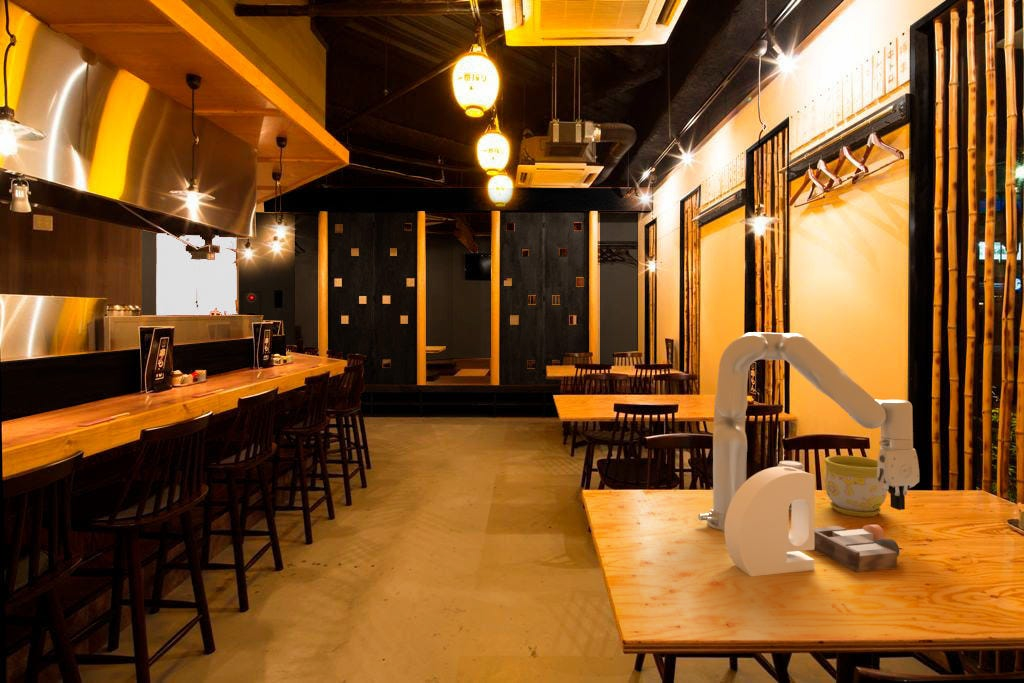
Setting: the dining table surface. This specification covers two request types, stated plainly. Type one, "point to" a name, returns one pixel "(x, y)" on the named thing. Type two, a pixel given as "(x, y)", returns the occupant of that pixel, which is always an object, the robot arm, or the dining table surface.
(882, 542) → the white and grey bar
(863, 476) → the flowerpot
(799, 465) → the supplement can
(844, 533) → the rust knob
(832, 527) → the brown wooden tray
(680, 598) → the dining table surface
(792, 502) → the bracket
